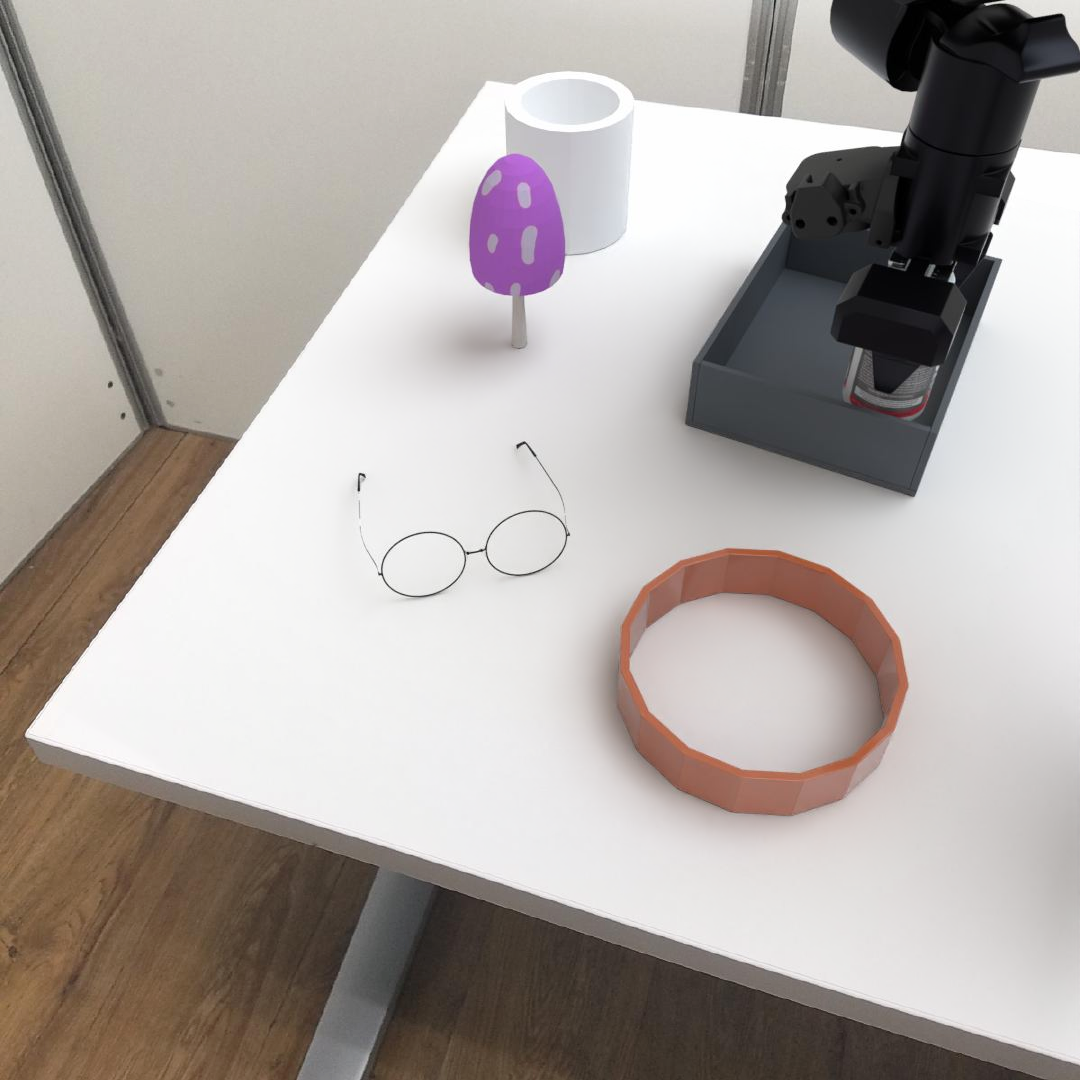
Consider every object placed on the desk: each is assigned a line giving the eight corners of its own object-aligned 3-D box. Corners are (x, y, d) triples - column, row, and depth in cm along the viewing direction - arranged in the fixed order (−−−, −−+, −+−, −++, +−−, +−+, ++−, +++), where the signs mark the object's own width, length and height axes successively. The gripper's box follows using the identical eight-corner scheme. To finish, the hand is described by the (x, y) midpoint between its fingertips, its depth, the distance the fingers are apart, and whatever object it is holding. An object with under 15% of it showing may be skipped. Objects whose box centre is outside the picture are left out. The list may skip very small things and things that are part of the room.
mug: (541, 164, 98) (540, 47, 90) (649, 181, 96) (658, 63, 88) (492, 243, 89) (486, 121, 81) (609, 263, 87) (615, 140, 79)
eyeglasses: (348, 478, 71) (337, 422, 67) (531, 444, 73) (531, 387, 69) (376, 607, 63) (365, 552, 60) (578, 564, 66) (580, 508, 62)
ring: (919, 641, 61) (935, 603, 59) (847, 861, 53) (862, 829, 50) (676, 555, 66) (682, 516, 63) (573, 744, 57) (573, 708, 54)
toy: (463, 362, 79) (448, 175, 68) (491, 310, 83) (482, 126, 72) (549, 378, 77) (549, 191, 66) (574, 325, 82) (578, 140, 71)
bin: (980, 320, 82) (1003, 258, 78) (914, 497, 69) (937, 434, 65) (779, 268, 86) (791, 207, 82) (684, 424, 74) (692, 361, 70)
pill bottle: (939, 420, 69) (985, 292, 61) (862, 434, 68) (899, 306, 60) (901, 369, 72) (940, 242, 65) (827, 382, 71) (858, 254, 64)
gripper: (861, 35, 64) (814, 259, 76) (760, 177, 53) (723, 415, 65) (1053, 70, 61) (973, 299, 72) (989, 230, 50) (907, 471, 61)
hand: (894, 364), depth 68 cm, fingers closed on pill bottle, 5 cm apart
